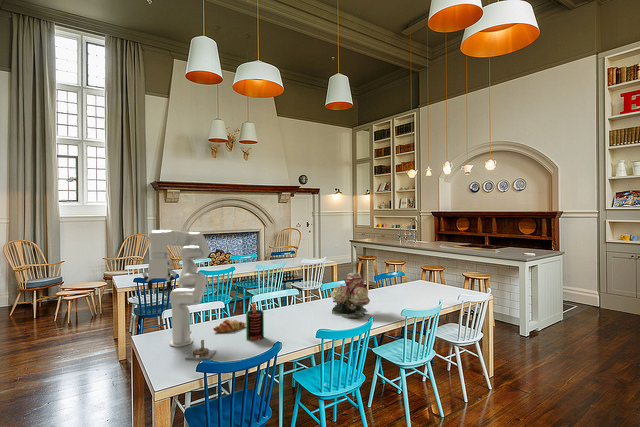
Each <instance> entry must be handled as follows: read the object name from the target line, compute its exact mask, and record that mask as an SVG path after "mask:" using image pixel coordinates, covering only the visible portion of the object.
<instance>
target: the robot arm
mask: <svg viewBox="0 0 640 427" xmlns="http://www.w3.org/2000/svg"><path fill="white" fill-rule="evenodd" d="M148 241H149V243H150V259H149V262H148V267H147V268H148V269H147V270H146V271H144V272H142V273H141V274H142V277H143V278H144V280H145V281H146V283H147V289H148V291H150V290H152V289H154V287H153V279H165V280H166V290H167V291H170V290H171V289H172V287H173V286H172V283H173V282H172V281H174V279H175V277H176V276H177V272H176V271H174V270H172V266H171V262H170V261H171V260H170V258H169V256H170V253H169V252H168V246H175V247H176V246H177V247H181V249H180V256H181V261H182V270H181V272H180V276H179V278H178V281H177V286H178V288H174V289H172V290H171V292H170V294H169V301H170V306H171V325H172V326H171V328H172V329H171V330H172V331H171V332H172V339H171V340H170V341H169V346H171V347H173V348H174V347H176V348H179V347H185V346H189V345H190V344H192V343H193V342H194V338H193V337H191V334H192V330H191V319H190V318H191V317H190V315H191V312H190V309H189V306H197V305H199V304H200V303H201V302H202V299H203V295H204V291H205V289H206V286H207V276H206V274H204V273H203V272H198V265H197V263H196V262H195V261H194V260H204V259H205V260H206V259H207V258H208V257H209V256H210V249H209V246H208V243H207V242H208V241H207V240H206V238H205V235H204V234H203V233H202V232H200V231H191V232H190V231H182V230H172V229H166V230H165V229H157V230H156V229H154V230H152V231H150V232H149V234H148ZM147 274H148V275H147Z"/></svg>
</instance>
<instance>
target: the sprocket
mask: <svg viewBox="0 0 640 427" xmlns="http://www.w3.org/2000/svg"><path fill="white" fill-rule="evenodd" d="M193 350H194V351H193ZM193 350H192V351H193V355H194V356H195V357H196V355H199V356H201V357H202V356H203V355H207V354H208V353H209V350H210V349H209V348H208V347H205V340H204V339H201V340H200V347H198V348H196V349H193Z"/></svg>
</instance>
